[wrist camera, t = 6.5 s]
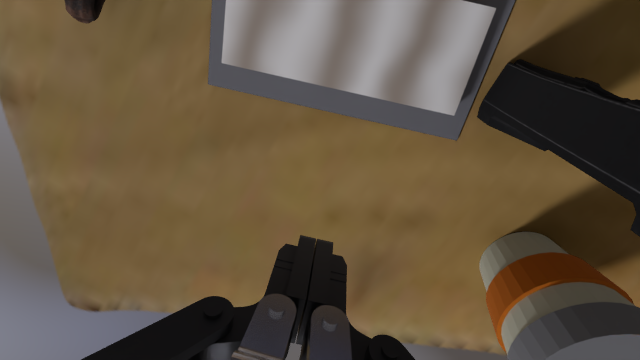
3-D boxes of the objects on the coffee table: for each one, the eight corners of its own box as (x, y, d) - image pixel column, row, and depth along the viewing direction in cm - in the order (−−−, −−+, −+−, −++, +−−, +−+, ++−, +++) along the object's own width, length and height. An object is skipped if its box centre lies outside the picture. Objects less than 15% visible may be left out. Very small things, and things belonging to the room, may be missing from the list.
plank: (487, 9, 28) (496, 8, 26) (448, 111, 31) (454, 115, 30) (236, -49, 27) (229, -54, 26) (228, 61, 31) (221, 63, 30)
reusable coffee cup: (442, 263, 40) (488, 383, 27) (531, 198, 35) (642, 304, 22) (506, 314, 43) (578, 447, 30) (597, 260, 38) (732, 389, 25)
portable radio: (582, 90, 30) (1248, 278, 8) (539, 145, 33) (945, 405, 10) (510, 55, 30) (1020, 152, 7) (472, 114, 32) (754, 323, 10)
